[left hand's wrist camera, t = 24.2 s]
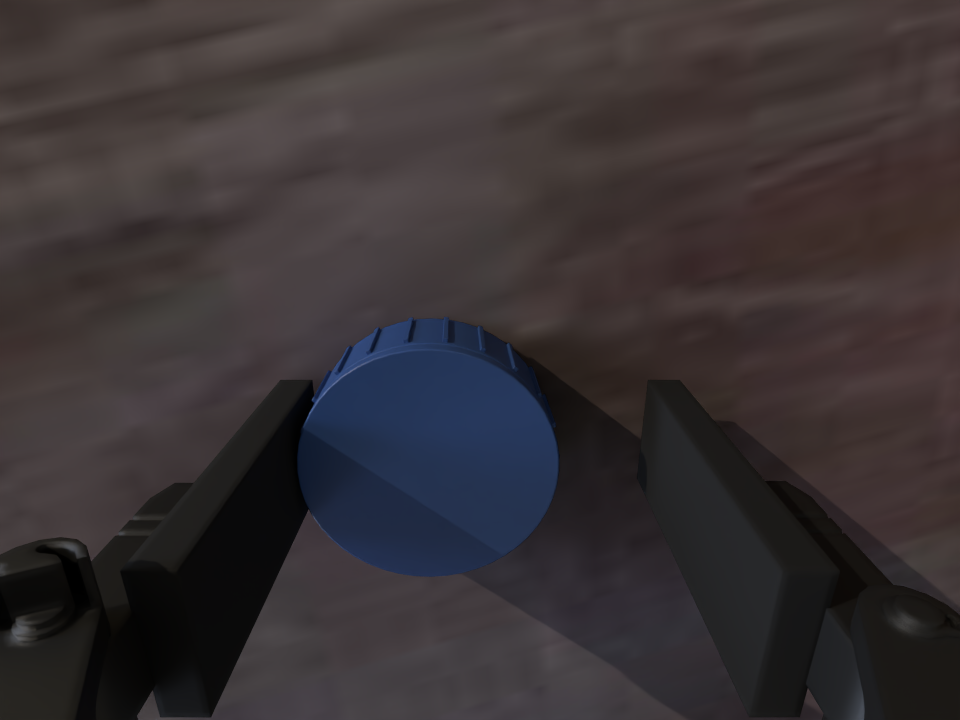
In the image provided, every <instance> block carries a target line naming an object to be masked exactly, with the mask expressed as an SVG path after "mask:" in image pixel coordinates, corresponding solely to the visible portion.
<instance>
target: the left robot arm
mask: <svg viewBox="0 0 960 720" xmlns="http://www.w3.org/2000/svg"><path fill="white" fill-rule="evenodd" d="M313 397H314V392H313V383H312V380H280V382H279V383H278V384H277V385H276V386H275V387H274V389H273V390H272V391H271V392H270V393H269V395H268V396H267V397H266V398H265V399H264V400H263V402H262V403H261V404H260V405H259V406H258V408H257V409H256V410H255V411H254V412H253V414H252V415H251V416H250V417H249V418H248V419H247V421H246V422H245V423H244V424H243V425H242V427H241V428H240V429H239V430H238V431H237V433H236V434H235V435H234V436H233V437H232V438H231V440H230V441H229V442H228V443H227V444H226V446H225V447H224V448H223V449H222V450H221V452H220V453H219V454H218V455H217V456H216V457H215V459H214V460H213V461H212V462H211V463H210V465H209V466H208V467H207V468H206V469H205V471H204V472H203V473H202V474H201V475H200V476H199V478H198V479H197V480H196V481H195V482H194V483H174V484H173V485H171V486H169V487H168V488H166V489H165V490H163V491H161V492H160V493H158V494H156V495H155V496H153V497H152V498H150V499H149V500H148V501H147V502H146V503H145V504H144V506H143V507H142V508H141V509H140V510H139V511H138V512H137V513H136V514H135V515H134V516H133V520H130V521H129V522H128V523H127V524H126V525H125V526H124V527H123V528H122V529H121V530H120V531H119V535H118V536H115V537H114V538H113V539H112V540H111V541H110V542H109V543H108V544H107V545H106V546H105V547H104V549H103V550H102V551H101V552H100V553H99V554H98V555H97V556H96V557H95V558H94V559H93V560H92V561H91V560H90V557H89V553H88V550H87V546H86V545H84V544H83V543H81V542H80V541H79V540H77V539H70V538H62V537H60V538H52V539H44V540H38V541H35V542H32V543H28V544H25V545H22V546H19V547H16V548H14V549H12V550H10V551H7V552H5V553H3V554H1V555H0V720H138V718H137V715H138V713H139V712H140V710H141V708H142V707H143V705H144V703H145V702H146V700H147V698H148V697H149V695H150V693H151V692H152V690H153V692H154V696H155V700H156V703H157V707H158V710H159V714H160V717H211V716H212V714H213V712H214V709H215V707H216V705H217V703H218V701H219V699H220V697H221V695H222V692H223V690H224V688H225V686H226V684H227V682H228V680H229V677H230V675H231V673H232V671H233V669H234V667H235V665H236V663H237V660H238V658H239V656H240V654H241V652H242V650H243V648H244V646H245V643H246V641H247V639H248V637H249V635H250V633H251V631H252V628H253V626H254V624H255V622H256V620H257V618H258V616H259V614H260V611H261V609H262V607H263V605H264V603H265V601H266V599H267V597H268V594H269V592H270V590H271V588H272V586H273V584H274V582H275V580H276V577H277V575H278V573H279V571H280V569H281V567H282V565H283V562H284V560H285V558H286V556H287V554H288V552H289V550H290V548H291V545H292V543H293V541H294V539H295V537H296V535H297V533H298V531H299V528H300V526H301V524H302V522H303V520H304V518H305V516H306V513H307V511H308V509H309V508H308V506H307V504H306V502H305V500H304V497H303V494H302V491H301V488H300V483H299V478H298V473H297V452H298V444H299V439H300V436H301V433H300V431H301V428H302V426H303V424H304V422H305V420H306V419H307V417H308V415H309V413H310V411H311V409H312V407H313V405H314V402H312V399H313ZM637 479H638V481H639V483H640V485H641V487H642V490H643V492H644V494H645V496H646V498H647V500H648V502H649V504H650V507H651V509H652V511H653V513H654V515H655V517H656V519H657V522H658V524H659V526H660V528H661V530H662V532H663V534H664V536H665V539H666V541H667V543H668V545H669V547H670V549H671V551H672V554H673V556H674V558H675V560H676V562H677V564H678V566H679V568H680V571H681V573H682V575H683V577H684V579H685V581H686V583H687V586H688V588H689V590H690V592H691V594H692V596H693V598H694V600H695V603H696V605H697V607H698V609H699V611H700V613H701V615H702V618H703V620H704V622H705V624H706V626H707V628H708V630H709V632H710V635H711V637H712V639H713V641H714V643H715V645H716V647H717V650H718V652H719V654H720V656H721V658H722V660H723V662H724V664H725V667H726V669H727V671H728V673H729V675H730V677H731V679H732V682H733V684H734V686H735V688H736V690H737V692H738V694H739V696H740V699H741V701H742V703H743V705H744V707H745V709H746V711H747V714H748V716H749V717H800V714H801V710H802V707H803V703H804V699H805V696H806V692H807V689H808V688H809V690H810V692H811V693H812V695H813V697H814V698H815V700H816V702H817V703H818V705H819V707H820V708H821V710H822V712H823V713H824V715H823V718H822V720H960V615H959V614H958V613H956V612H955V611H954V610H953V609H951V608H950V607H949V606H948V605H946V604H944V603H942V602H940V601H938V600H937V599H935V598H933V597H931V596H929V595H927V594H925V593H922V592H919V591H916V590H913V589H910V588H907V587H904V586H897V585H893V584H892V583H891V582H890V581H889V580H888V579H887V578H886V577H885V576H884V575H883V574H882V572H881V571H880V570H879V569H878V568H877V567H876V566H875V565H874V564H873V563H872V562H871V561H870V560H869V559H868V557H867V556H866V555H865V554H864V553H863V552H862V551H861V550H860V549H859V548H858V547H857V546H856V545H855V544H854V542H853V541H852V540H851V539H850V538H849V537H848V536H847V535H846V534H842V530H841V529H840V527H839V526H838V525H837V524H836V523H835V522H834V521H833V520H832V519H831V518H828V517H827V514H826V513H825V511H824V510H823V509H822V508H821V507H820V506H819V505H818V504H817V503H816V502H815V501H814V500H813V499H812V498H811V497H810V496H809V495H807V494H806V493H804V492H802V491H801V490H799V489H797V488H796V487H794V486H793V485H791V484H789V483H788V482H786V481H764V480H763V479H762V477H761V476H760V475H759V474H758V473H757V472H756V470H755V469H754V468H753V467H752V466H751V464H750V463H749V462H748V461H747V460H746V458H745V457H744V456H743V455H742V454H741V452H740V451H739V450H738V449H737V448H736V447H735V445H734V444H733V443H732V442H731V441H730V439H729V438H728V437H727V436H726V435H725V433H724V432H723V431H722V430H721V429H720V428H719V426H718V425H717V424H716V423H715V422H714V420H713V419H712V418H711V417H710V416H709V414H708V413H707V412H706V411H705V410H704V409H703V407H702V406H701V405H700V404H699V403H698V401H697V400H696V399H695V398H694V397H693V395H692V394H691V393H690V392H689V391H688V389H687V388H686V387H685V386H684V385H683V384H682V382H681V381H680V380H648V385H647V394H646V403H645V412H644V420H643V429H642V438H641V447H640V456H639V465H638V474H637Z"/></svg>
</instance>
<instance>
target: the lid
mask: <svg viewBox="0 0 960 720" xmlns="http://www.w3.org/2000/svg"><path fill="white" fill-rule="evenodd" d="M312 402H314V405H313V407H312V409H311V411H310V413H309V415H308V417H307V419H306V420H305V422H304V424H303V426H302V428H301V431H300V433H301V436H300V439H299V444H298V452H297V473H298V478H299V483H300V488H301V491H302V494H303V497H304V500H305V502H306V504H307V506H308V508H309V510H310V512H311V514H312V516H313V517H314V519H315V520H316V521H317V523H318V524H319V526H320V527H321V528H322V529H323V531H324V532H325V533H326V534H327V535H328V536H329V537H330V538H331V539H332V540H333V541H334V542H335V543H337V544H338V545H339V546H340V547H341V548H343V549H344V550H345V551H347V552H348V553H350V554H352V555H353V556H355V557H356V558H358V559H360V560H362V561H364V562H366V563H368V564H370V565H373V566H375V567H378V568H381V569H383V570H387V571H391V572H395V573H399V574H405V575H412V576H429V577H433V576H447V575H453V574H459V573H464V572H467V571H471V570H474V569H478V568H480V567H482V566H485V565H487V564H490V563H492V562H494V561H496V560H498V559H499V558H501V557H503V556H505V555H506V554H508V553H509V552H511V551H512V550H513V549H515V548H516V547H518V546H519V545H520V544H521V543H522V542H523V541H524V540H525V539H526V538H528V537H529V536H530V534H531V533H532V532H533V531H534V530H535V528H536V527H537V526H538V525H539V523H540V522H541V520H542V519H543V517H544V516H545V514H546V512H547V510H548V508H549V506H550V504H551V502H552V500H553V497H554V493H555V490H556V487H557V482H558V476H559V458H560V455H559V450H558V443H557V439H556V436H555V432H554V429H553V428H554V427H556V424H555V421H554V418H553V415H552V412H551V410H550V407H549V404H548V401H547V398H546V396H545V394H544V395H542V393H541V390H540V387H539V384H538V381H537V378H536V375H535V373H534V370H533V368H532V366H531V367H529V368H528V366H527V365H526V363H525V362H524V361H523V360H522V359H521V358H520V356H519V355H518V354H517V353H516V352H515V351H514V350H513V348H512V345H511V344H510V343H508V344H506V343H504V342H503V341H501V340H500V339H498V338H497V337H495V336H494V335H492V334H490V333H488V332H486V331H484V330H483V327H482V326H478V327H474V326H471V325H468V324H465V323H462V322H457V321H452V320H449V317H444V319H416V320H413V317H412V318H409V319H408V321H405V322H400V323H397V324H394V325H391V326H388V327H385V328H383V329H381V330H380V328H379V327H378V328H376V329H375V330H374V333H372V334H370V335H369V336H367V337H366V338H364V339H363V340H361V341H360V342H358V343H357V344H356V345H355V346H354V347H351V346H349V347H348V348H347V349H346V351H345V353H344V355H343V357H342V358H341V360H340V361H339V362H338V363H337V365H336V366H335V368H334V369H333V371H332V372H331V371H328V372H327V374H326V376H325V378H324V379H323V381H322V383H321V385H320V387H319V388H318V390H317V392H316V394H315V395H314V397H313V399H312Z"/></svg>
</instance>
